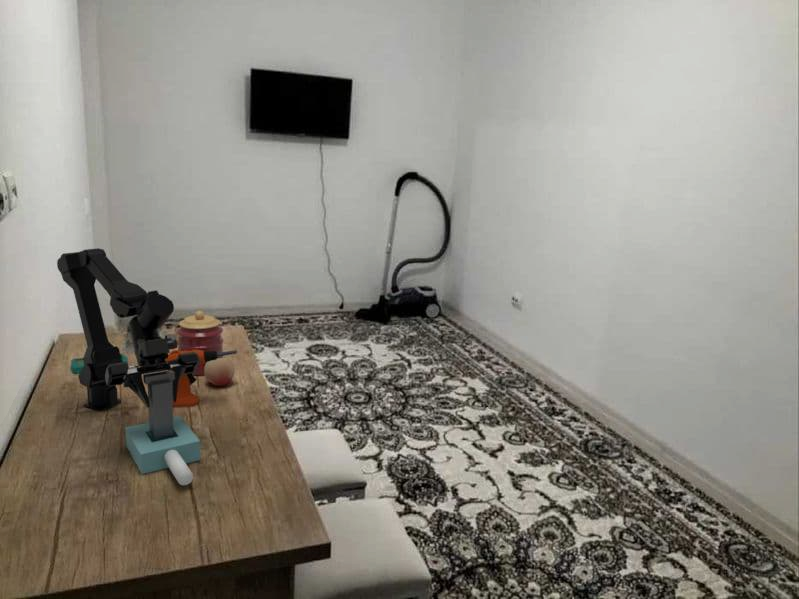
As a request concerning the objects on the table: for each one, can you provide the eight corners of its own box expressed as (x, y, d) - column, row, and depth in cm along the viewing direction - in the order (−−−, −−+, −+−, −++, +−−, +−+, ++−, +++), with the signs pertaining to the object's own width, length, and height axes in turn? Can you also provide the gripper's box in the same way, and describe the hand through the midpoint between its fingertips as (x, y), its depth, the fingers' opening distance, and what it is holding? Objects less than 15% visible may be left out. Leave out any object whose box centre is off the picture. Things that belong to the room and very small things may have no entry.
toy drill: (243, 398, 164) (235, 344, 160) (168, 411, 160) (157, 356, 155) (243, 390, 168) (235, 338, 164) (169, 403, 164) (159, 349, 160)
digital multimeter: (129, 368, 185) (129, 359, 184) (72, 375, 177) (72, 366, 177) (125, 360, 191) (125, 351, 190) (70, 367, 183) (70, 358, 183)
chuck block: (126, 445, 139) (125, 427, 138) (181, 433, 146) (180, 416, 145) (154, 497, 120) (153, 476, 119) (216, 481, 127) (215, 461, 126)
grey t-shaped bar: (144, 431, 136) (141, 372, 132) (173, 425, 139) (170, 368, 136) (149, 439, 133) (146, 379, 129) (178, 433, 136) (176, 374, 133)
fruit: (231, 377, 181) (230, 351, 179) (236, 387, 174) (236, 360, 172) (202, 380, 178) (201, 354, 176) (207, 391, 171) (206, 363, 169)
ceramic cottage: (147, 333, 215) (143, 291, 211) (178, 345, 207) (175, 302, 202) (104, 347, 203) (100, 303, 198) (136, 360, 195) (132, 315, 190)
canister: (175, 377, 179) (173, 317, 175) (180, 361, 191) (178, 305, 187) (223, 375, 182) (222, 316, 178) (224, 360, 194) (223, 305, 190)
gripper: (104, 327, 128) (119, 397, 122) (196, 317, 138) (213, 380, 132) (99, 352, 136) (113, 419, 130) (186, 340, 147) (202, 401, 141)
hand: (162, 404), depth 133 cm, fingers closed on grey t-shaped bar, 5 cm apart
